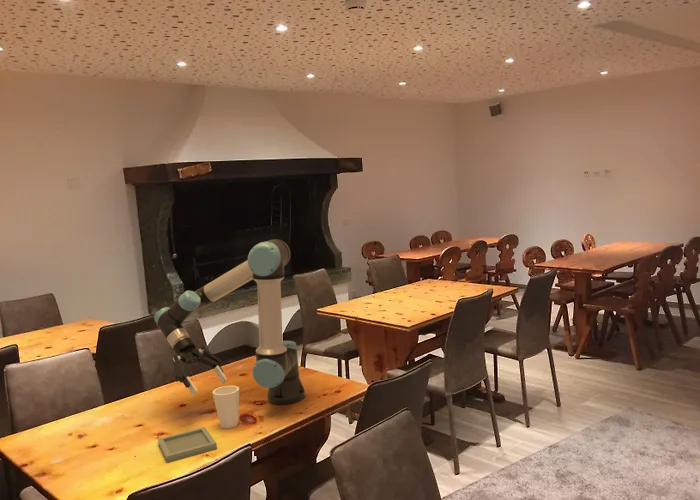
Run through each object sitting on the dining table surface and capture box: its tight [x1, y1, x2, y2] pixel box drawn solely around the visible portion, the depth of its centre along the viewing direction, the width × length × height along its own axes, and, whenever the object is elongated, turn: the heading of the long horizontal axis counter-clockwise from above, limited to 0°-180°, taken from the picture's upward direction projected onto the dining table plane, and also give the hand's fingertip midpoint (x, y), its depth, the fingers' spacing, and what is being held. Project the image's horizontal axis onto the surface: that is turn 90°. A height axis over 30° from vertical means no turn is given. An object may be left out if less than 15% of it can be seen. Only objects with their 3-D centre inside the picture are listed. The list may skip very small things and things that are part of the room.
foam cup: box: [212, 385, 241, 429], centre depth 206 cm, size 10×9×13 cm
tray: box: [157, 426, 218, 464], centre depth 191 cm, size 16×16×2 cm
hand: (210, 387), depth 210 cm, fingers open, 13 cm apart
